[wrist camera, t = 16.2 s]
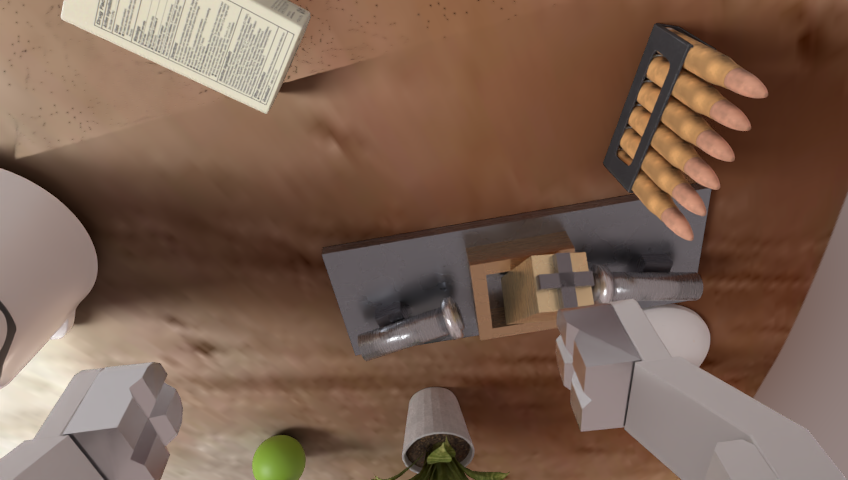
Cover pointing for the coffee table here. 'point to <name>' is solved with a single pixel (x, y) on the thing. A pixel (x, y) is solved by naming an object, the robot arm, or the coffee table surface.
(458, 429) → the house plant
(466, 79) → the coffee table surface
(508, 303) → the pale yellow block
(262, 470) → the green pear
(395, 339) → the shaft left
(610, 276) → the shaft right
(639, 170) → the ammunition clip
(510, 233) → the coupler station
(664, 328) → the candlestick
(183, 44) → the skincare box
